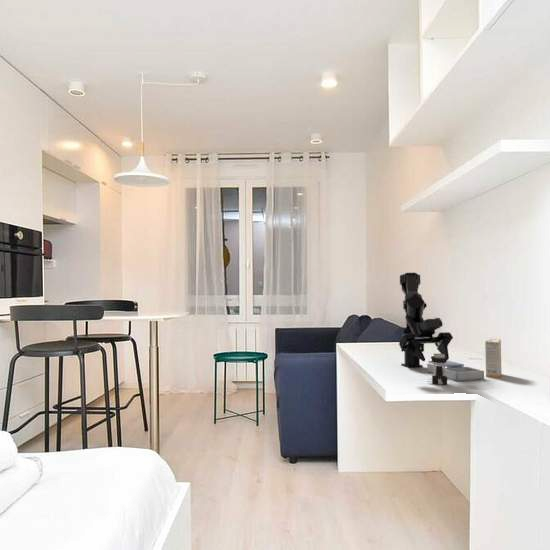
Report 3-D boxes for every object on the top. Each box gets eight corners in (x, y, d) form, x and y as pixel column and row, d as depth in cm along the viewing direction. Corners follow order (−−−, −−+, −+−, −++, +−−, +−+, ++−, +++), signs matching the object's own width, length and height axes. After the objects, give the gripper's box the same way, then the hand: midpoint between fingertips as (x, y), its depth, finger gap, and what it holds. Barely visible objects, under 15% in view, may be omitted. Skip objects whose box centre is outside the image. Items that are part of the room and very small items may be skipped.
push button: (427, 384, 154) (427, 355, 154) (426, 381, 159) (426, 352, 159) (448, 385, 152) (448, 355, 153) (446, 382, 158) (446, 353, 158)
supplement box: (487, 372, 174) (487, 338, 174) (501, 374, 171) (501, 339, 172) (485, 376, 167) (484, 340, 167) (499, 378, 164) (499, 341, 164)
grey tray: (425, 371, 177) (425, 363, 177) (450, 369, 180) (450, 362, 180) (455, 381, 159) (455, 372, 159) (484, 379, 162) (483, 370, 162)
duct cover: (428, 362, 177) (428, 361, 177) (448, 361, 180) (448, 360, 180) (443, 366, 168) (443, 365, 168) (464, 365, 170) (464, 364, 170)
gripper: (402, 310, 160) (421, 346, 149) (449, 309, 164) (470, 344, 153) (391, 331, 167) (408, 366, 156) (436, 329, 172) (455, 364, 161)
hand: (436, 360), depth 156 cm, fingers open, 9 cm apart
